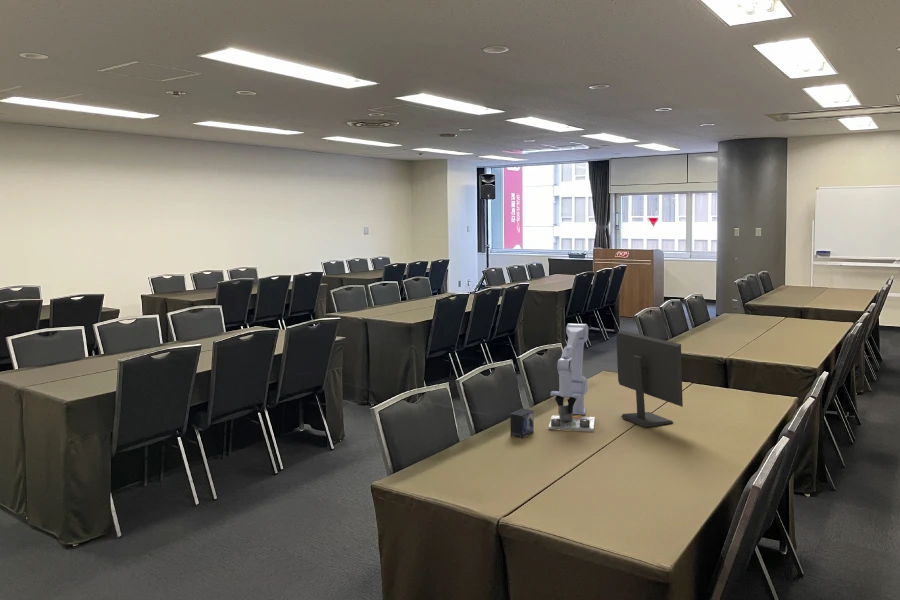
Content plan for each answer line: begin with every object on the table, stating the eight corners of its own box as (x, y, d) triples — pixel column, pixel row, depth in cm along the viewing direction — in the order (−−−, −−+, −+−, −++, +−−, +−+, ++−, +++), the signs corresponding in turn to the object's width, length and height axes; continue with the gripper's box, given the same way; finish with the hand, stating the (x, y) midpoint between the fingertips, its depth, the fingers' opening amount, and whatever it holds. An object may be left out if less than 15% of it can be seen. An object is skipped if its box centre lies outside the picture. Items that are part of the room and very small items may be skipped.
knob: (556, 419, 317) (555, 404, 316) (577, 415, 321) (577, 401, 321) (563, 422, 311) (563, 407, 310) (584, 418, 316) (584, 403, 315)
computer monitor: (693, 431, 298) (694, 342, 293) (663, 436, 292) (664, 346, 288) (632, 407, 338) (632, 328, 334) (605, 411, 333) (605, 331, 328)
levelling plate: (552, 418, 324) (552, 410, 323) (594, 420, 319) (594, 412, 319) (548, 429, 307) (548, 421, 306) (593, 431, 302) (593, 423, 301)
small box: (522, 438, 295) (522, 415, 294) (509, 436, 299) (509, 413, 298) (534, 432, 304) (534, 409, 302) (522, 430, 308) (521, 407, 306)
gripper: (547, 384, 314) (547, 412, 316) (576, 387, 306) (576, 416, 308) (554, 380, 320) (554, 408, 321) (582, 384, 312) (582, 412, 313)
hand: (565, 412), depth 315 cm, fingers closed on knob, 4 cm apart
